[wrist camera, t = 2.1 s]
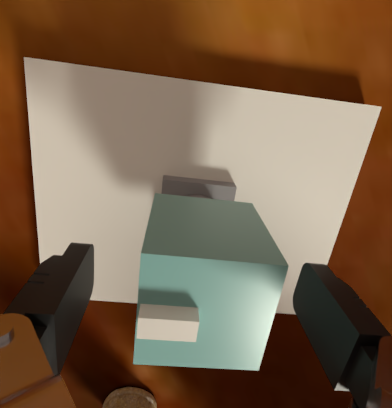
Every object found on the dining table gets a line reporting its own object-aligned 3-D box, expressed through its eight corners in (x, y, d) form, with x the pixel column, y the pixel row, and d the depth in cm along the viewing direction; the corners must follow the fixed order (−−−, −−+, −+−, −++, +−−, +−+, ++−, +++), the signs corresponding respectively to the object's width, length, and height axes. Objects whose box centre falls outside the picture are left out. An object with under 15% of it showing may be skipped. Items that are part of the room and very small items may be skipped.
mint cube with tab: (252, 203, 14) (296, 278, 8) (235, 282, 15) (263, 386, 10) (155, 193, 13) (138, 265, 8) (148, 275, 15) (130, 380, 10)
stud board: (365, 104, 17) (428, 112, 13) (301, 300, 22) (331, 354, 18) (38, 59, 15) (-19, 50, 11) (51, 282, 21) (17, 335, 16)
